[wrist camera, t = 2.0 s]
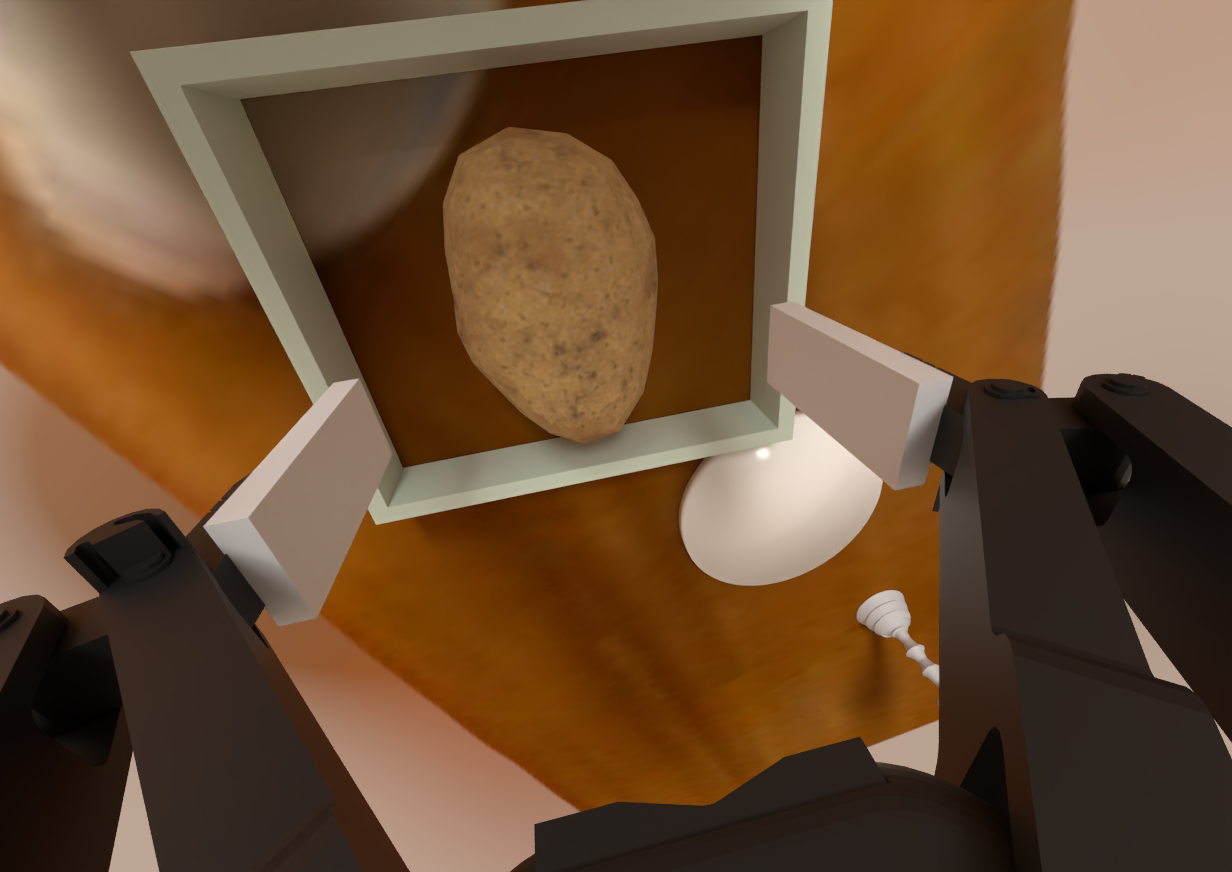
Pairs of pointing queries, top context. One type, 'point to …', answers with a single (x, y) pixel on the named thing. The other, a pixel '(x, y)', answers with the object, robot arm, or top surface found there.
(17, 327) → the top surface
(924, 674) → the chalice
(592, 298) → the potato
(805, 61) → the crate
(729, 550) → the plate
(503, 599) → the top surface
